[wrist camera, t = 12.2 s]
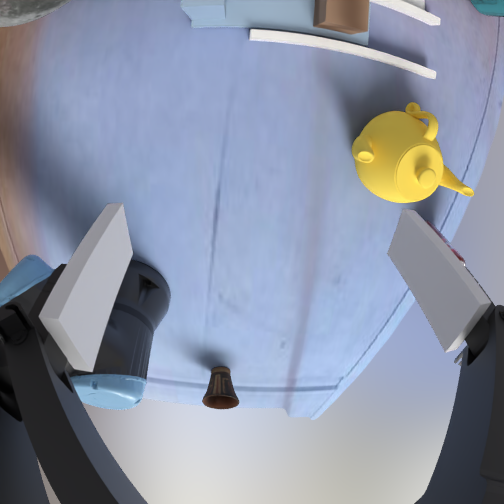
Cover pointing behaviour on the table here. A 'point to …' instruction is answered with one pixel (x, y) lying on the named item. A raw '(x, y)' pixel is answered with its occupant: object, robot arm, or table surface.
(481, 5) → the beverage bottle
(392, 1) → the lane bed
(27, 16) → the decorative sphere
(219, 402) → the cup
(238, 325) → the table surface
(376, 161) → the teapot
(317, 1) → the walnut block
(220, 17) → the pale blue stepped slab
